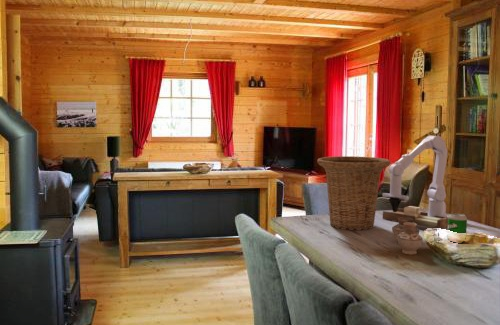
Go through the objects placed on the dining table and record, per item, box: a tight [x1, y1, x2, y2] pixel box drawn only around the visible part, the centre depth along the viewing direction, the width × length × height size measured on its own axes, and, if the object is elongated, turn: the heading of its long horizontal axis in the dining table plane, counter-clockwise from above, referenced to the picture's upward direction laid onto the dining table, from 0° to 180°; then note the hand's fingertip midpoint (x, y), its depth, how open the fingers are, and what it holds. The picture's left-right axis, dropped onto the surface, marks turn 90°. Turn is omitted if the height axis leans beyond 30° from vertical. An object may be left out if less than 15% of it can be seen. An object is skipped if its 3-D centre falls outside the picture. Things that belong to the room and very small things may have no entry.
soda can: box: [447, 212, 468, 234], centre depth 206 cm, size 8×8×12 cm
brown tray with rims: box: [382, 207, 448, 229], centre depth 246 cm, size 16×32×4 cm, turn 43°
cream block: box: [403, 205, 421, 218], centre depth 248 cm, size 6×6×4 cm
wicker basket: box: [316, 155, 391, 231], centre depth 236 cm, size 35×35×33 cm
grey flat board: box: [413, 216, 445, 231], centre depth 240 cm, size 29×12×2 cm, turn 133°
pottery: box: [391, 218, 424, 255], centre depth 198 cm, size 11×25×12 cm, turn 169°
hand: (394, 211), depth 255 cm, fingers closed
